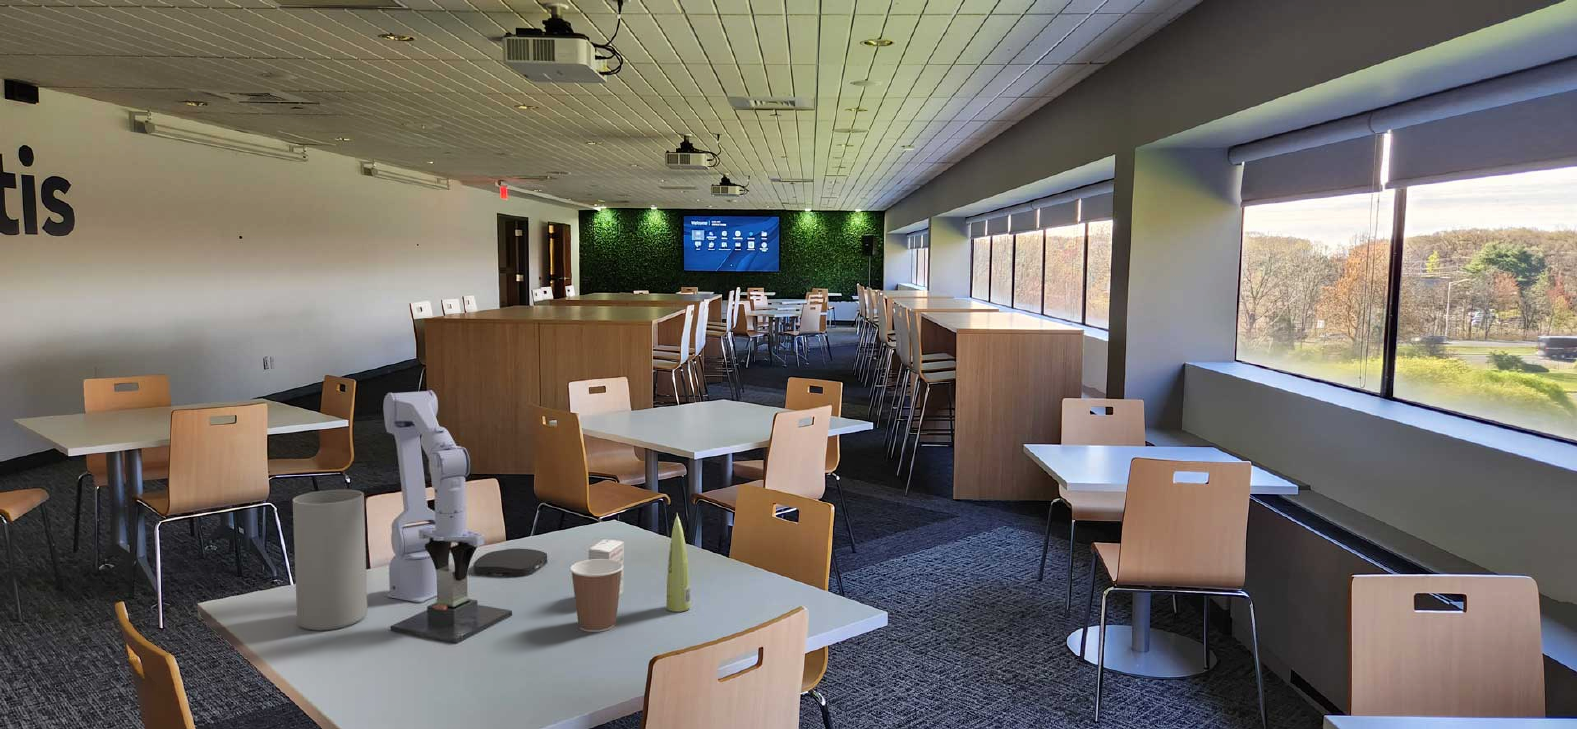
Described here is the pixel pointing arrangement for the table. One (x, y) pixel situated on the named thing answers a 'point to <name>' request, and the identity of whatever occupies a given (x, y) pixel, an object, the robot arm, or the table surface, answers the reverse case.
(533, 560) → the media streaming box
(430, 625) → the stand
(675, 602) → the tube
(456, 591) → the column
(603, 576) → the coffee cup
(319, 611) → the cylinder vase
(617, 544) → the ink box
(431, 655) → the table surface
